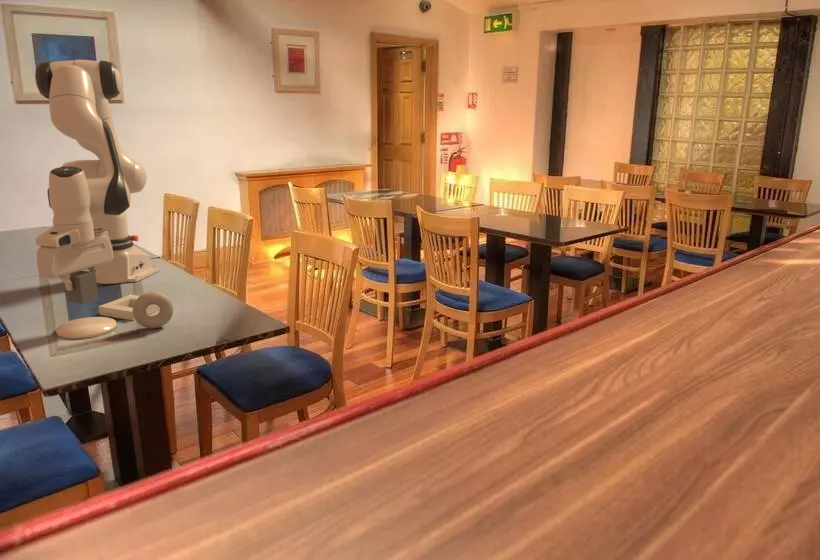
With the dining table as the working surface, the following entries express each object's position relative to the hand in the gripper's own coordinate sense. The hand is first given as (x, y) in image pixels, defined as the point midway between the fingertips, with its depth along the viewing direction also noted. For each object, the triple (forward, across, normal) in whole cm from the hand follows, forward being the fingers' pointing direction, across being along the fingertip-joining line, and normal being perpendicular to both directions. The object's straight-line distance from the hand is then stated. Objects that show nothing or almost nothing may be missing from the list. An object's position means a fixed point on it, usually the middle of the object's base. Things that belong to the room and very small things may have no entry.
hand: (81, 286), depth 162 cm
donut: (+12, -8, +15) cm, 21 cm away
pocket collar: (+12, -16, 0) cm, 20 cm away
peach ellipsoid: (+12, 0, 0) cm, 12 cm away
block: (+4, 0, 0) cm, 4 cm away
